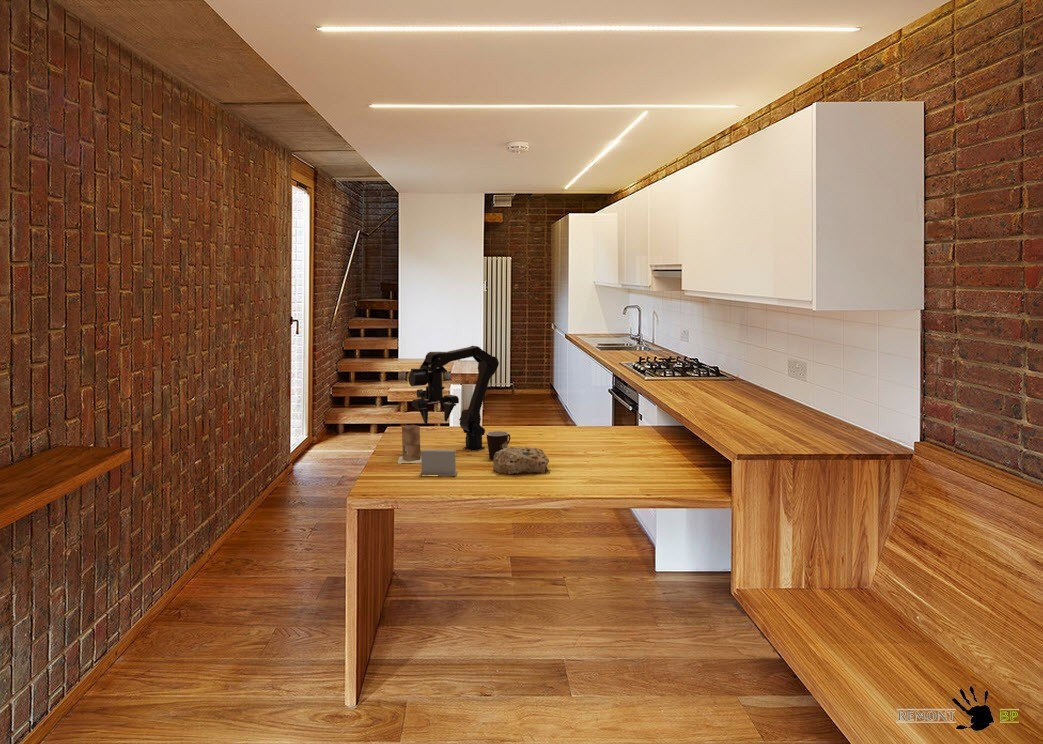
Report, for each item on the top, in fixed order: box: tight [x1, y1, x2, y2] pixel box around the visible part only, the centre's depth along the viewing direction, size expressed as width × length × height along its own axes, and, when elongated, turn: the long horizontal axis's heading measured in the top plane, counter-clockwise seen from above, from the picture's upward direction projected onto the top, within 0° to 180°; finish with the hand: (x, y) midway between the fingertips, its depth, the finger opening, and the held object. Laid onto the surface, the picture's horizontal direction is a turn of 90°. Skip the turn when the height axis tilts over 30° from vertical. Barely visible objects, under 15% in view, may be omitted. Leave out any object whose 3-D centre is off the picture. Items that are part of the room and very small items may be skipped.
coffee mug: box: [485, 430, 511, 461], centre depth 294 cm, size 12×9×10 cm
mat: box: [397, 455, 421, 465], centre depth 292 cm, size 10×10×1 cm
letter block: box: [401, 424, 421, 462], centre depth 291 cm, size 5×5×13 cm
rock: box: [492, 446, 550, 475], centre depth 276 cm, size 21×14×10 cm
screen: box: [419, 449, 458, 477], centre depth 271 cm, size 13×4×9 cm, turn 86°
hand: (435, 422), depth 298 cm, fingers open, 9 cm apart
